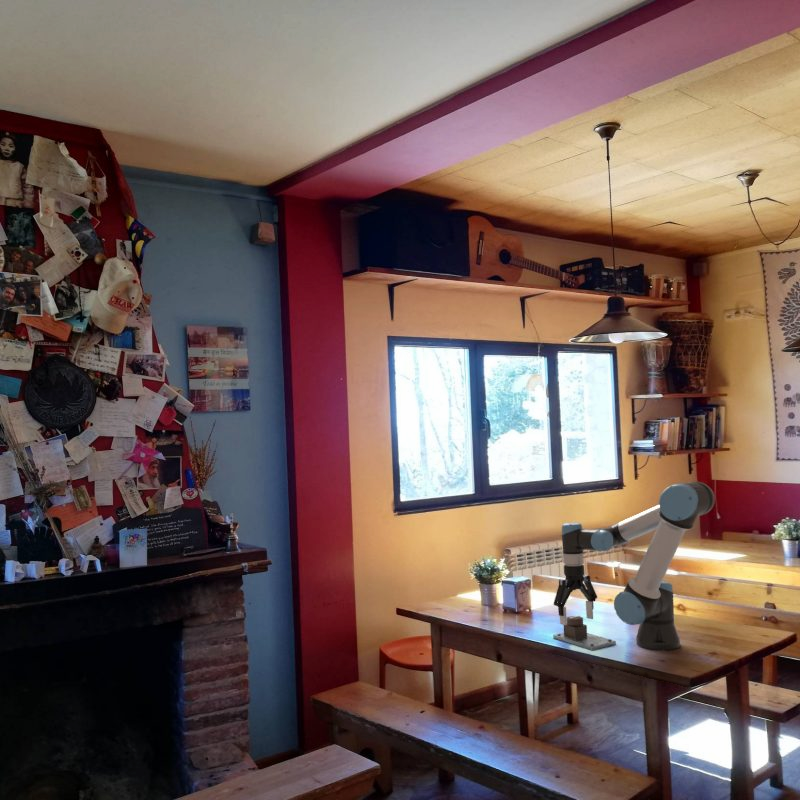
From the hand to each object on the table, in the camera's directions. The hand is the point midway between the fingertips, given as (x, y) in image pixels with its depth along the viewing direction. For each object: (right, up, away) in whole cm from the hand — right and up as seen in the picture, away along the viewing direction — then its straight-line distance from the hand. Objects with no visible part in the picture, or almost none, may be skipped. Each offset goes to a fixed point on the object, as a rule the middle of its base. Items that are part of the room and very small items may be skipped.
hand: (576, 621), depth 297 cm
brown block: (0, -5, +1) cm, 5 cm away
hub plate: (+2, -6, -3) cm, 7 cm away
